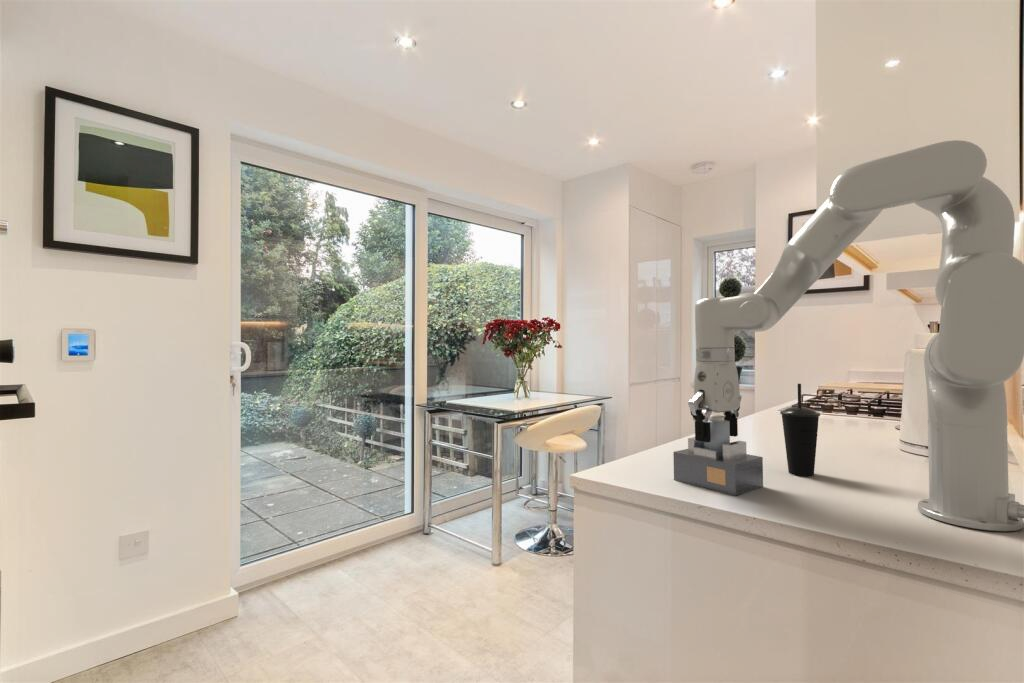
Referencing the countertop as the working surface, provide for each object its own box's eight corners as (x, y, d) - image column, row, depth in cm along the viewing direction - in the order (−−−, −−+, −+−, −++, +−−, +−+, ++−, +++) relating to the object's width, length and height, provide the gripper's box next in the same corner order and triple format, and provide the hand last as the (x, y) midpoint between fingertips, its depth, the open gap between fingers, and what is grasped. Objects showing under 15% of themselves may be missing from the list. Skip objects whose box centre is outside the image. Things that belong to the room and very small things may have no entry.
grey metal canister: (735, 454, 100) (734, 416, 100) (721, 458, 97) (720, 418, 97) (713, 450, 104) (712, 413, 104) (699, 453, 101) (698, 415, 102)
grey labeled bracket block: (763, 486, 98) (762, 442, 98) (735, 496, 92) (734, 448, 92) (701, 472, 109) (701, 432, 109) (673, 479, 104) (673, 437, 104)
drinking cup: (810, 469, 110) (808, 382, 111) (828, 478, 103) (826, 385, 103) (775, 469, 111) (773, 382, 111) (791, 478, 104) (789, 385, 104)
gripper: (706, 358, 93) (708, 446, 93) (754, 355, 103) (756, 436, 103) (673, 357, 99) (675, 440, 99) (722, 355, 109) (723, 431, 109)
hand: (716, 438), depth 101 cm, fingers open, 9 cm apart
